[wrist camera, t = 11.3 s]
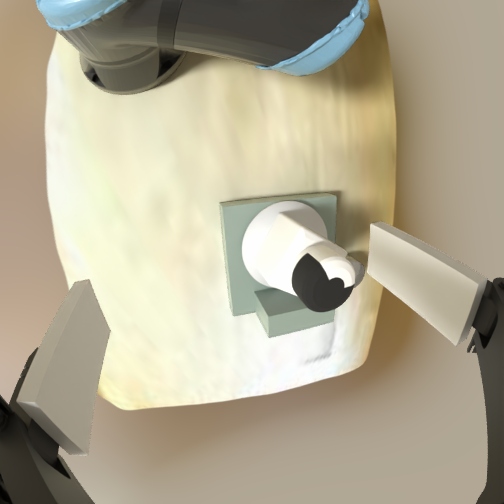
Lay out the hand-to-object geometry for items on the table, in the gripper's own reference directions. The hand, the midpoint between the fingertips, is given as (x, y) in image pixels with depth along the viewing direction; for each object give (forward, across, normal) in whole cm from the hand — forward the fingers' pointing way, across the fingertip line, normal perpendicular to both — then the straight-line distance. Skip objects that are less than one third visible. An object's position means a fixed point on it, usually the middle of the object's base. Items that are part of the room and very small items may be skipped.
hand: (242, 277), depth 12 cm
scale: (+28, +11, -12) cm, 32 cm away
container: (+24, +11, -10) cm, 28 cm away
